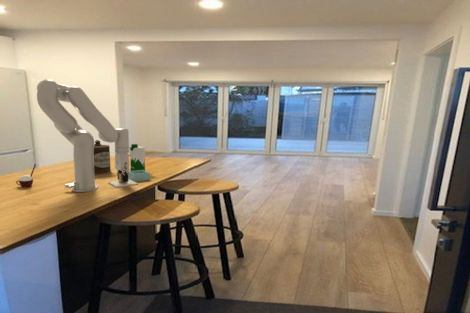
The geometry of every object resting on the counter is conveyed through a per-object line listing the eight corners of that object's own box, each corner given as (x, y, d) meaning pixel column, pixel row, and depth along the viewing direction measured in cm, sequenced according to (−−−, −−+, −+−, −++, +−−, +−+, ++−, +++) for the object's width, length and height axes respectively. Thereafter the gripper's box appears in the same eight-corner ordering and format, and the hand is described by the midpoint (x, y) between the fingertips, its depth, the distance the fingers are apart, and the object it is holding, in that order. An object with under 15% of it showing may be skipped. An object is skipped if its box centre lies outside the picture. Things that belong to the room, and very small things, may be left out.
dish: (134, 182, 179) (133, 174, 178) (127, 179, 186) (127, 171, 185) (149, 180, 185) (149, 172, 185) (142, 177, 193) (142, 169, 192)
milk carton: (128, 173, 205) (127, 144, 202) (140, 171, 211) (140, 143, 208) (135, 175, 199) (134, 145, 196) (147, 173, 205) (146, 144, 202)
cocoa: (15, 188, 161) (11, 166, 159) (22, 184, 167) (19, 164, 165) (33, 187, 162) (30, 166, 159) (40, 184, 168) (37, 163, 165)
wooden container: (96, 175, 195) (94, 141, 192) (82, 172, 202) (80, 140, 199) (115, 171, 208) (114, 140, 205) (101, 169, 215) (100, 138, 212)
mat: (115, 188, 164) (115, 187, 164) (107, 183, 174) (107, 183, 174) (138, 185, 173) (138, 184, 173) (129, 180, 182) (129, 180, 182)
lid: (116, 187, 165) (116, 176, 164) (108, 183, 174) (108, 172, 173) (137, 184, 173) (137, 173, 172) (129, 180, 182) (128, 170, 181)
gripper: (109, 148, 174) (111, 178, 177) (121, 152, 161) (122, 184, 164) (122, 147, 179) (123, 176, 182) (134, 151, 166) (135, 182, 169)
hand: (122, 180), depth 173 cm, fingers open, 6 cm apart
